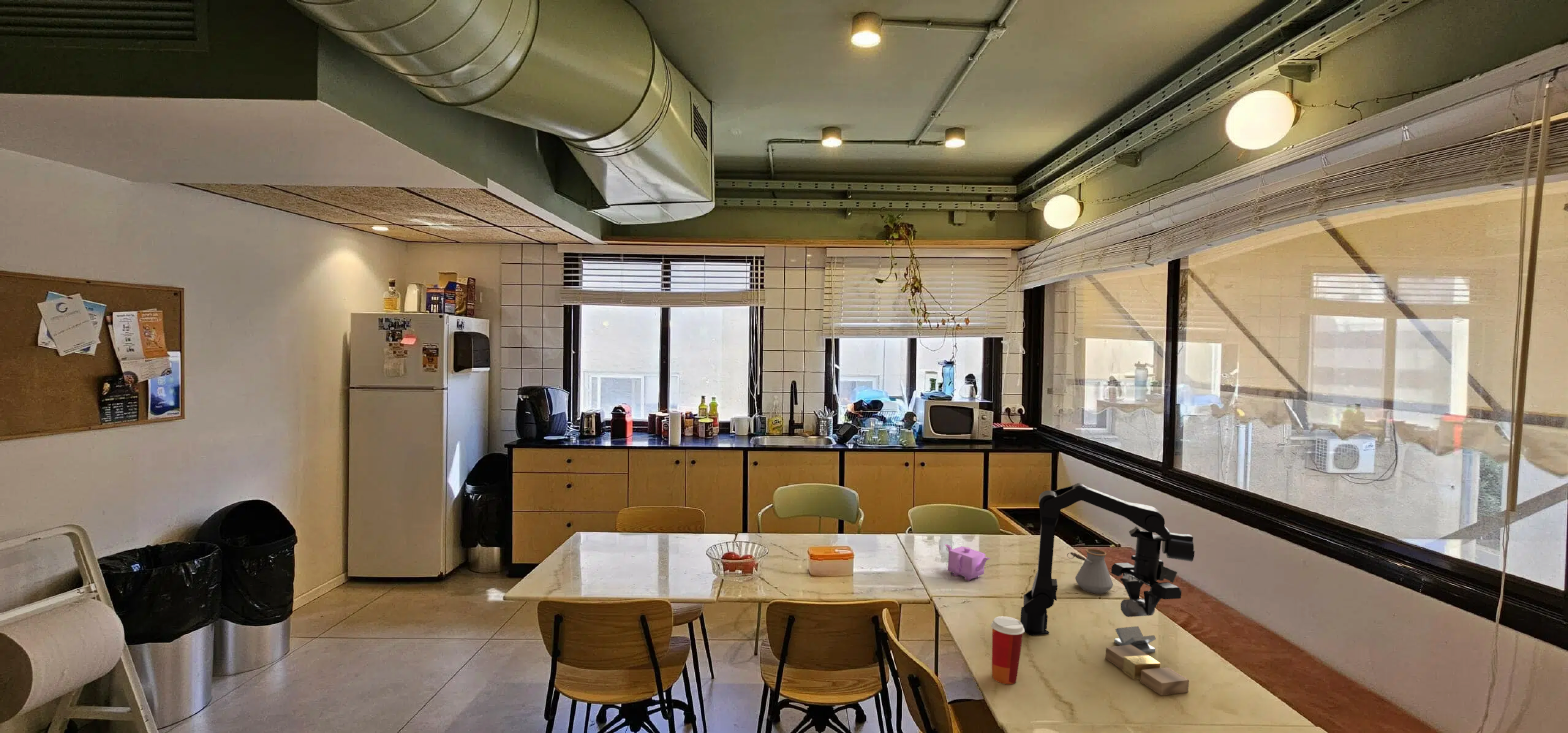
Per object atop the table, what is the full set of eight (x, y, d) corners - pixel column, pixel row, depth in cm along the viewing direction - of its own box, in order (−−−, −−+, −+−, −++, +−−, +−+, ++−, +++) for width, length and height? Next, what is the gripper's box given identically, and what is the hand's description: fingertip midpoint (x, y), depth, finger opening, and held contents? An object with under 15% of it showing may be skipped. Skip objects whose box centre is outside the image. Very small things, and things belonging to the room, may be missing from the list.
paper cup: (1013, 670, 167) (1017, 615, 166) (1025, 687, 159) (1030, 629, 158) (982, 669, 167) (986, 614, 166) (993, 686, 159) (997, 628, 158)
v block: (1133, 654, 179) (1134, 638, 179) (1114, 642, 186) (1115, 627, 185) (1155, 652, 181) (1156, 636, 180) (1135, 640, 187) (1136, 625, 187)
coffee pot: (1086, 580, 232) (1089, 538, 231) (1119, 592, 223) (1122, 547, 222) (1050, 592, 220) (1053, 547, 219) (1083, 605, 211) (1087, 558, 210)
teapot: (1000, 579, 230) (1002, 551, 229) (979, 588, 221) (981, 558, 220) (954, 563, 243) (956, 537, 243) (933, 571, 234) (935, 544, 234)
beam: (1160, 695, 158) (1161, 683, 158) (1105, 658, 176) (1106, 647, 176) (1188, 692, 161) (1189, 679, 160) (1130, 655, 178) (1131, 644, 178)
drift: (1133, 680, 165) (1135, 664, 165) (1122, 671, 169) (1124, 656, 169) (1158, 679, 167) (1160, 663, 166) (1147, 670, 171) (1148, 655, 170)
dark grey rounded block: (1132, 620, 178) (1133, 603, 177) (1119, 612, 182) (1121, 596, 181) (1153, 618, 179) (1155, 602, 179) (1141, 611, 184) (1143, 595, 183)
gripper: (1201, 566, 173) (1195, 625, 174) (1145, 542, 191) (1140, 596, 192) (1166, 567, 170) (1160, 627, 171) (1112, 543, 188) (1107, 597, 189)
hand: (1141, 611), depth 181 cm, fingers closed on dark grey rounded block, 4 cm apart
